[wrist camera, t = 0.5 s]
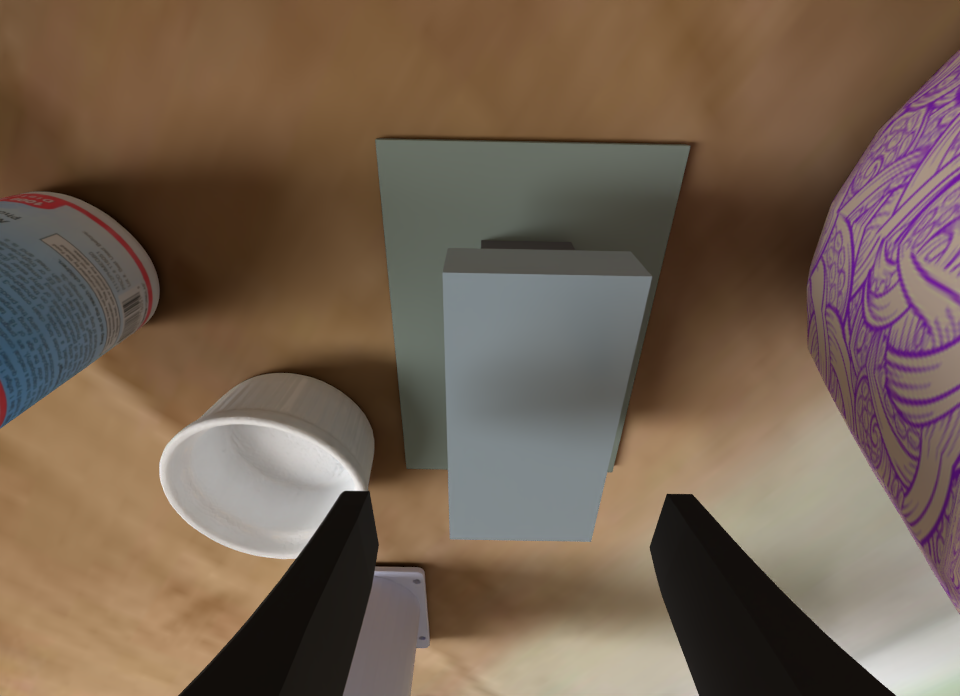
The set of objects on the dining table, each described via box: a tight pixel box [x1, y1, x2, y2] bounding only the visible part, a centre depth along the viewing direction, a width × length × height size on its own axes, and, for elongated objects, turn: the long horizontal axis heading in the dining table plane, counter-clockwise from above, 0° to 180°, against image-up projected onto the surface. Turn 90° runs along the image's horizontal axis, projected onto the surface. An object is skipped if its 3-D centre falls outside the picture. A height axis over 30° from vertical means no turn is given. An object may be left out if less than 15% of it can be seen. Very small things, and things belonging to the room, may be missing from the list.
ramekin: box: [159, 373, 374, 559], centre depth 21 cm, size 9×9×4 cm
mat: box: [375, 138, 690, 472], centre depth 20 cm, size 16×11×1 cm
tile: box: [442, 248, 652, 542], centre depth 15 cm, size 11×6×2 cm, turn 179°
